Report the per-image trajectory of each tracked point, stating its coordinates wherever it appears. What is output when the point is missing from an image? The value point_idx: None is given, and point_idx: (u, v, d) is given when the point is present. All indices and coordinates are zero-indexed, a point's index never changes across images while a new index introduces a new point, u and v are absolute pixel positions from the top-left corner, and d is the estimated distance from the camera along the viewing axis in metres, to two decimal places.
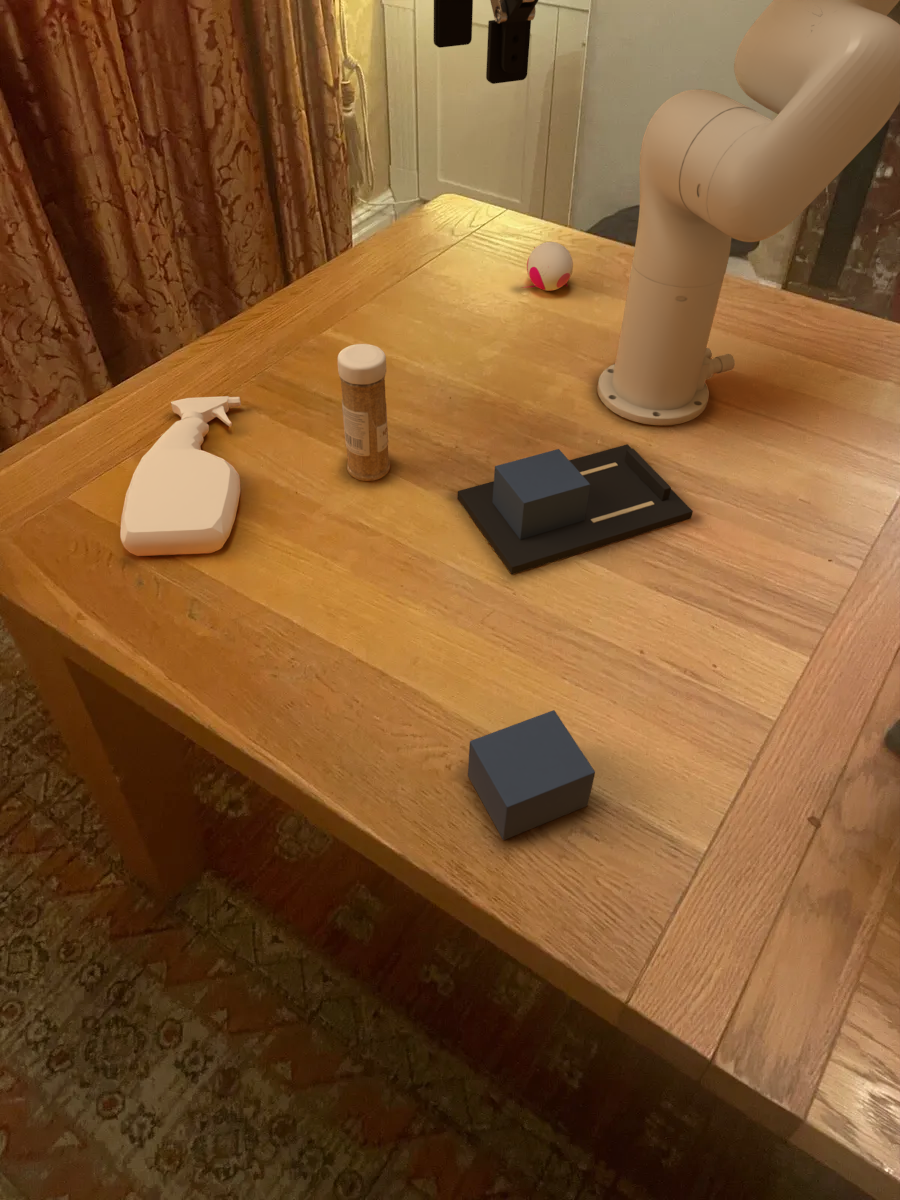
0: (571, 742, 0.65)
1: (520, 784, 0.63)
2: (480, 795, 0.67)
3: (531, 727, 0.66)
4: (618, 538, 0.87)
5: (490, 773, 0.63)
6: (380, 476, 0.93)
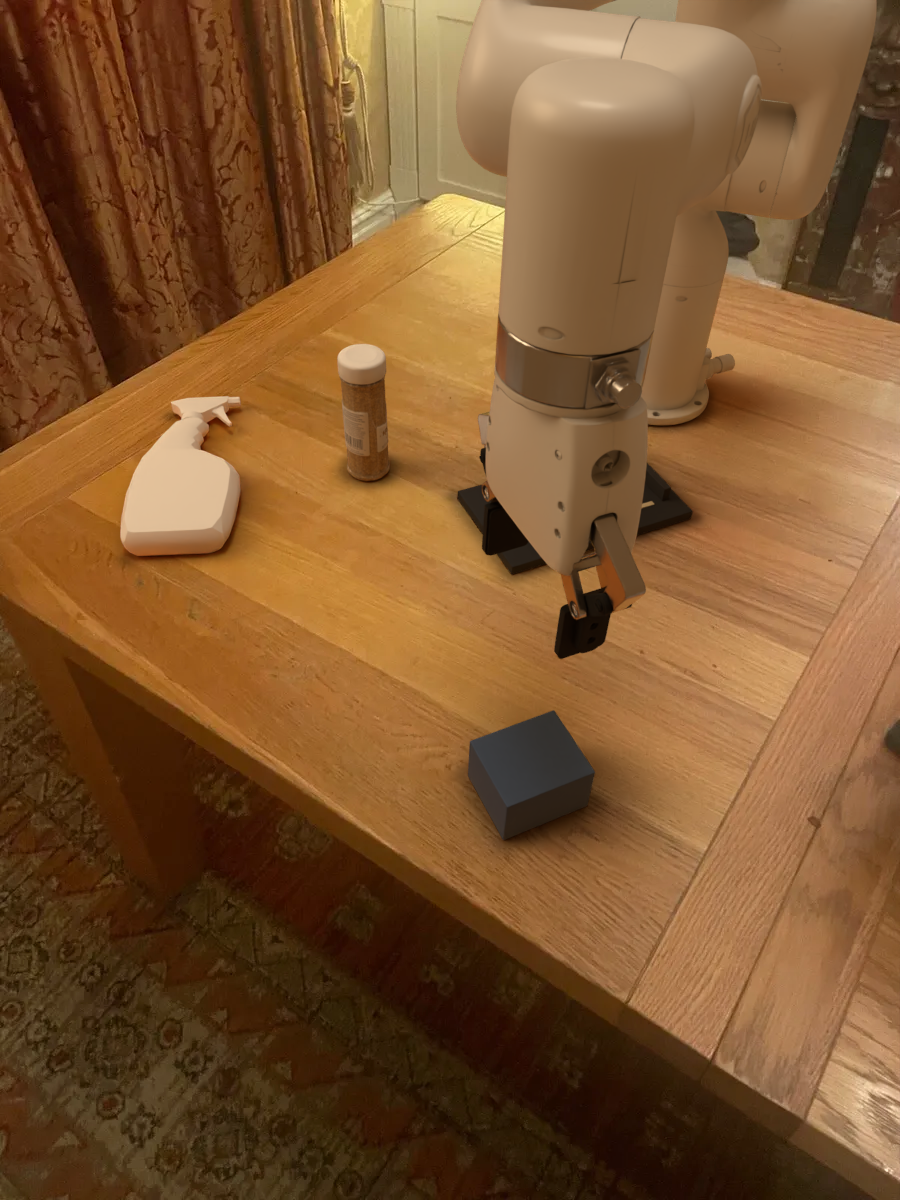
0: (571, 742, 0.65)
1: (520, 784, 0.63)
2: (480, 795, 0.67)
3: (531, 727, 0.66)
4: None
5: (490, 773, 0.63)
6: (380, 476, 0.93)
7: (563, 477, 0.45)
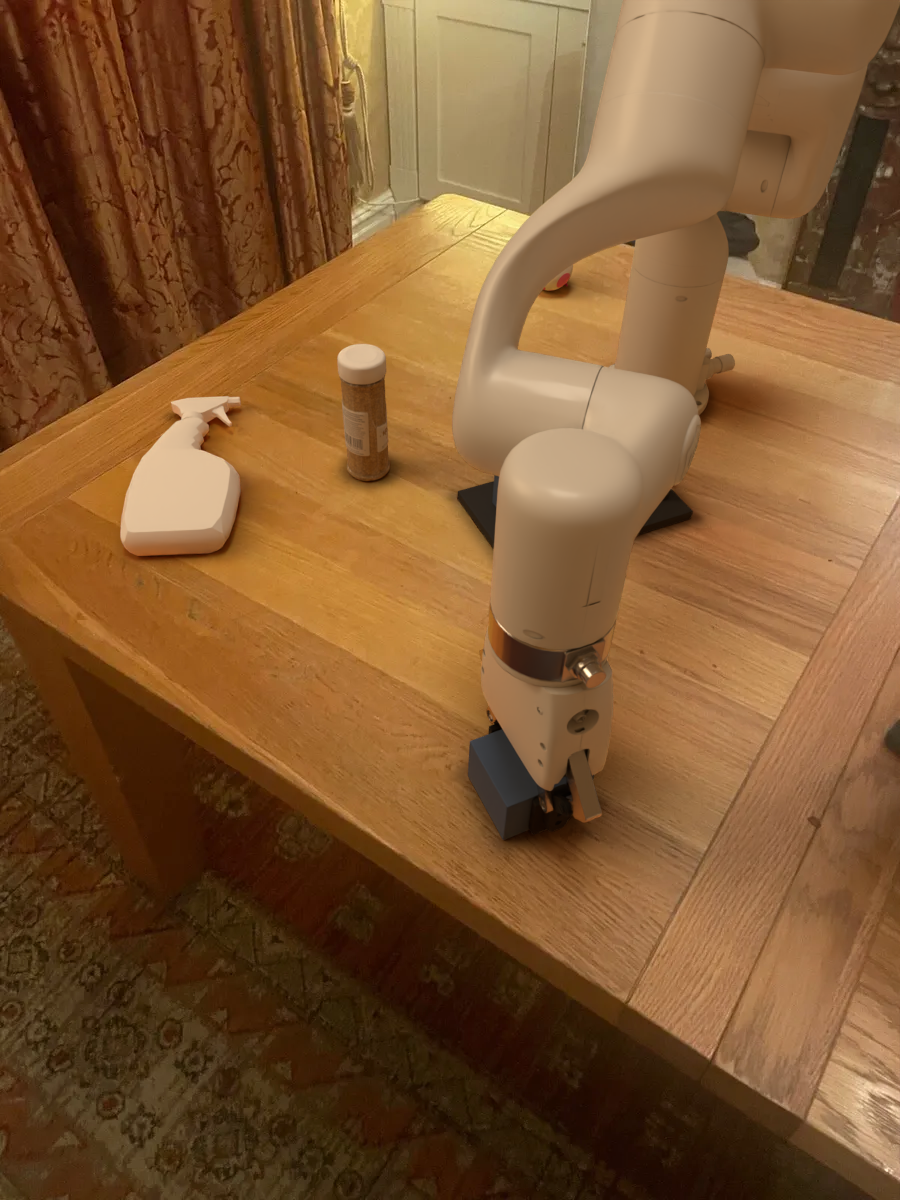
0: None
1: (520, 785, 0.63)
2: (480, 795, 0.67)
3: None
4: None
5: (490, 773, 0.63)
6: (380, 476, 0.93)
7: (544, 727, 0.54)
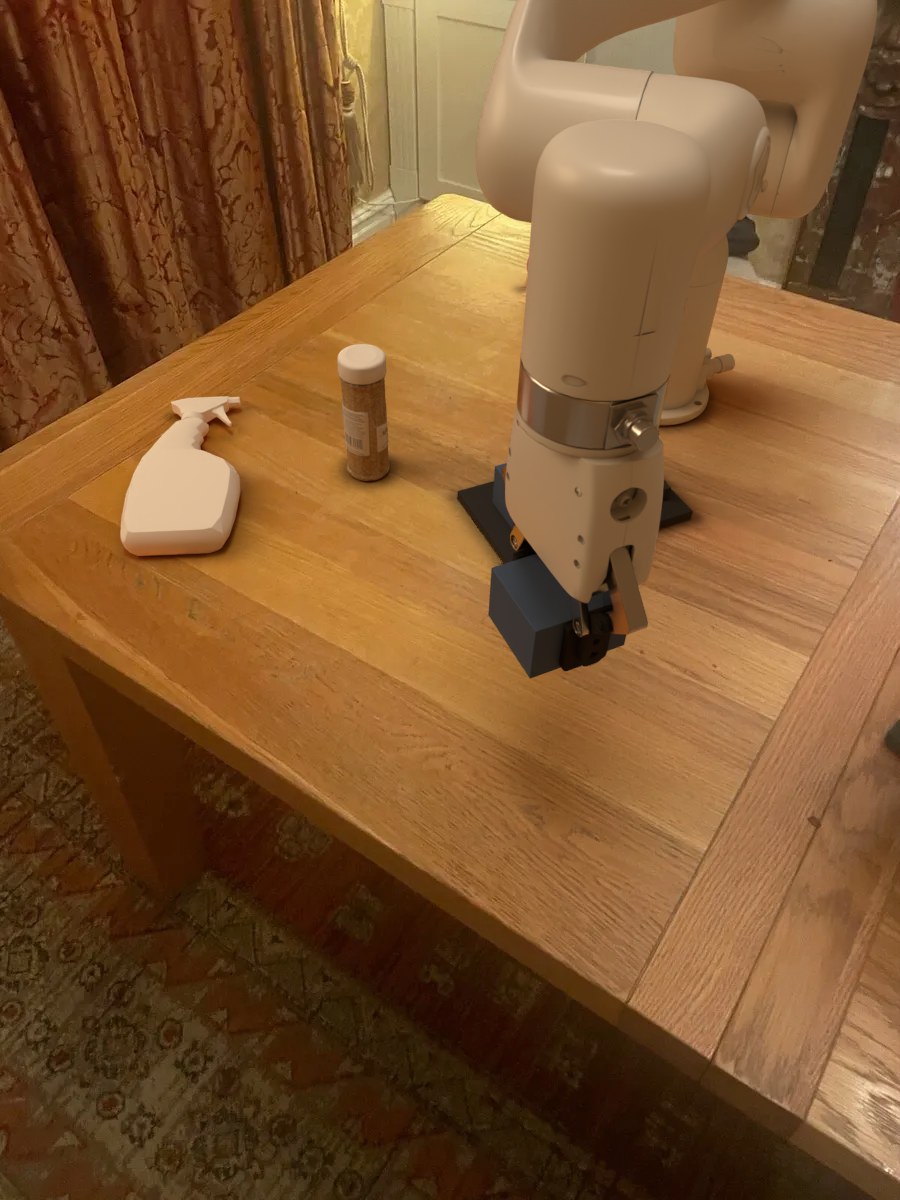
0: None
1: (550, 610, 0.55)
2: (503, 633, 0.59)
3: None
4: None
5: (515, 598, 0.56)
6: (380, 476, 0.93)
7: (583, 512, 0.47)
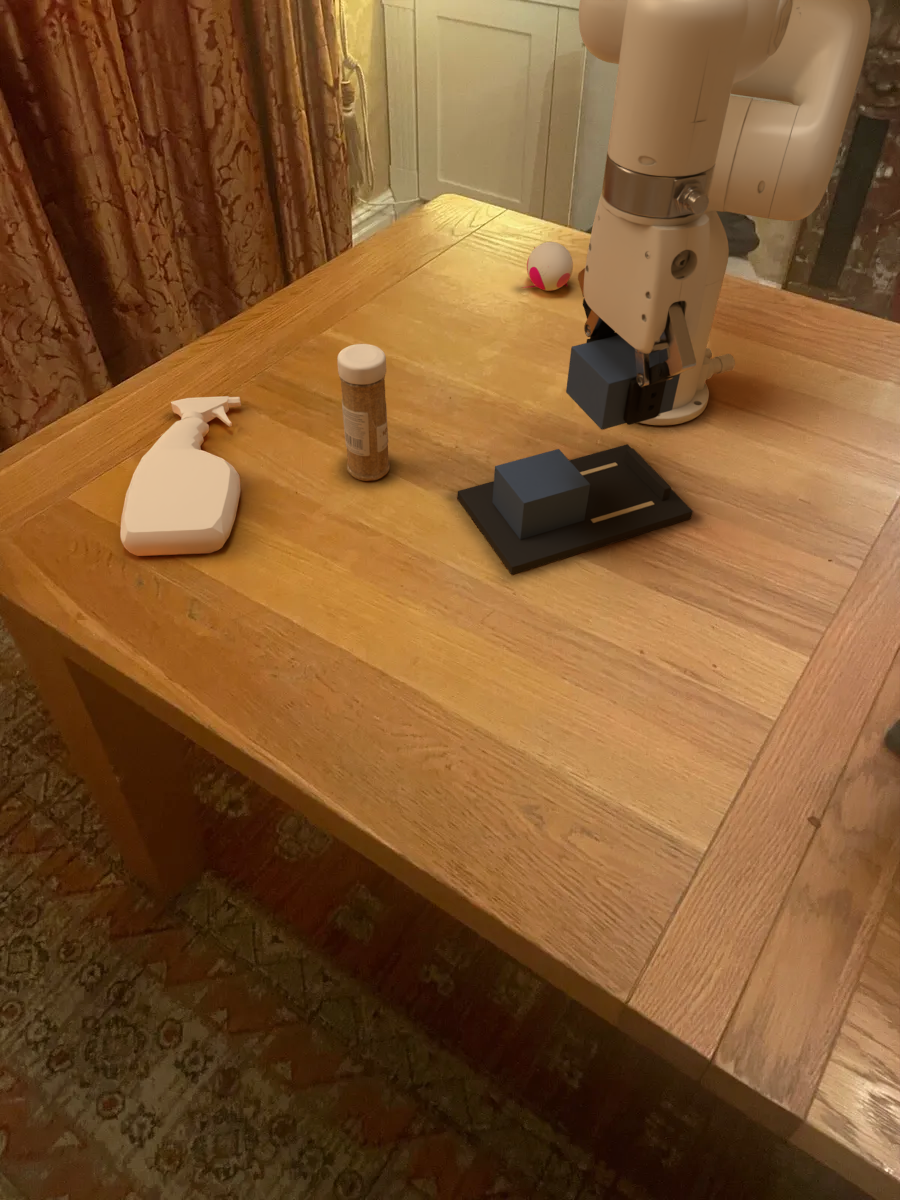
0: None
1: (619, 371, 0.73)
2: (579, 401, 0.77)
3: None
4: (618, 538, 0.87)
5: (592, 364, 0.73)
6: (380, 476, 0.93)
7: (651, 271, 0.64)
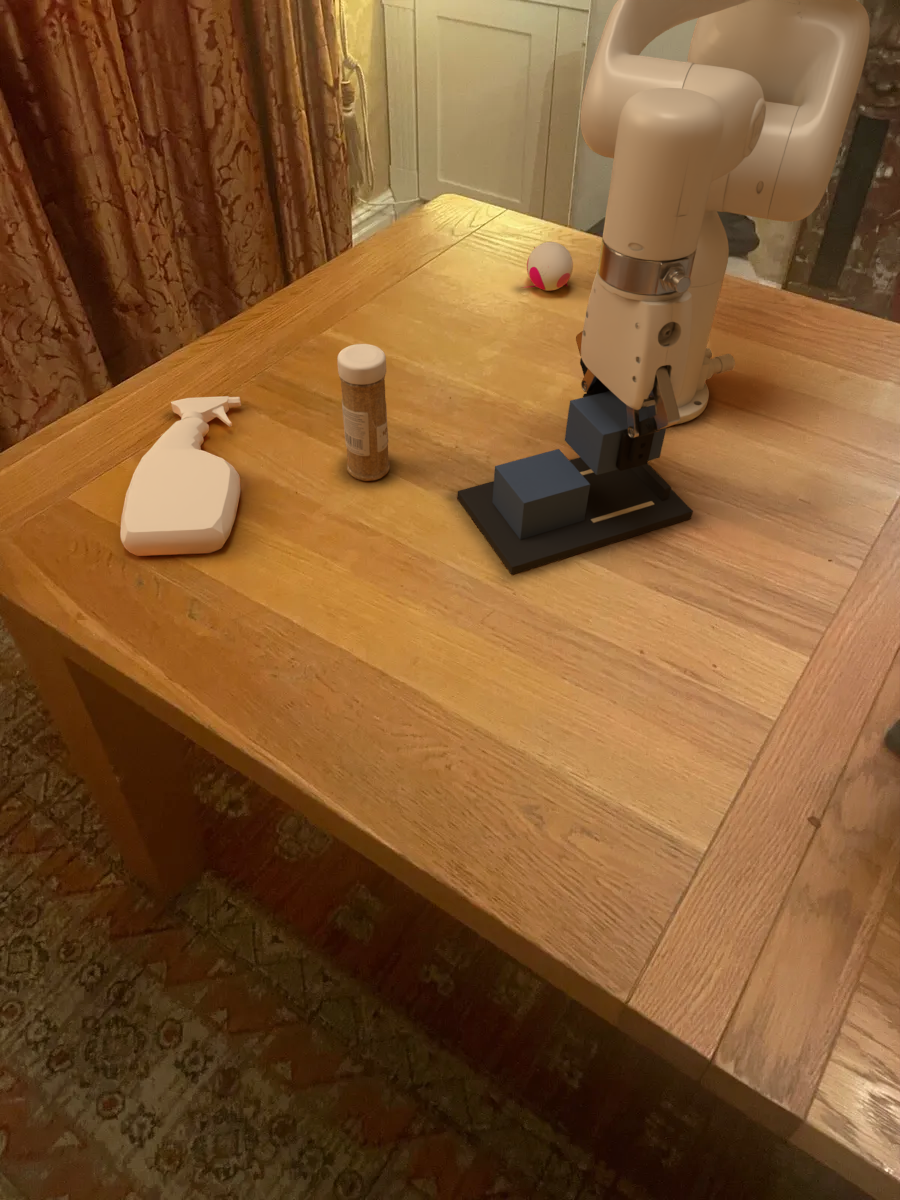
0: None
1: (612, 423, 0.82)
2: (576, 448, 0.86)
3: None
4: (618, 538, 0.87)
5: (588, 417, 0.82)
6: (380, 476, 0.93)
7: (640, 339, 0.74)
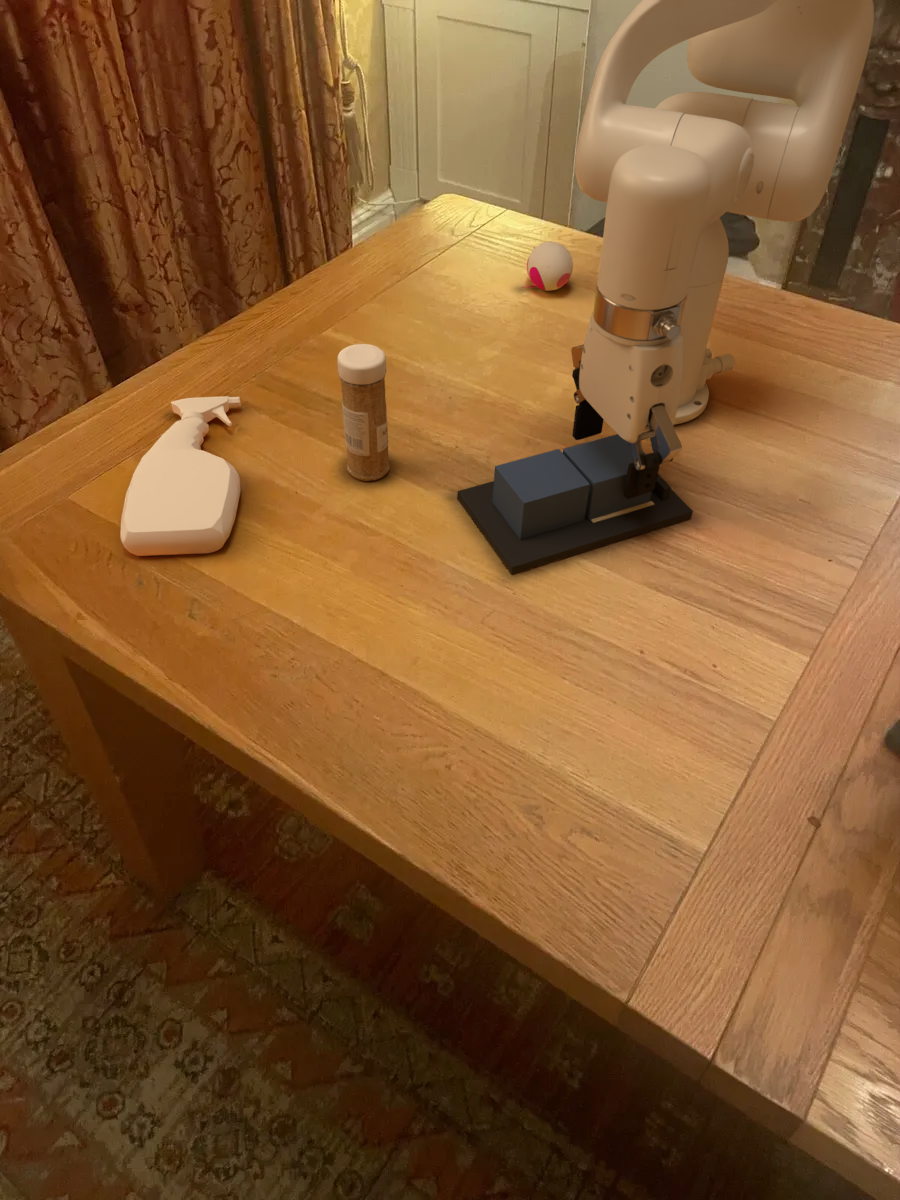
0: None
1: (603, 471, 0.86)
2: None
3: (607, 441, 0.89)
4: (618, 538, 0.87)
5: (580, 465, 0.86)
6: (380, 476, 0.93)
7: (634, 381, 0.77)
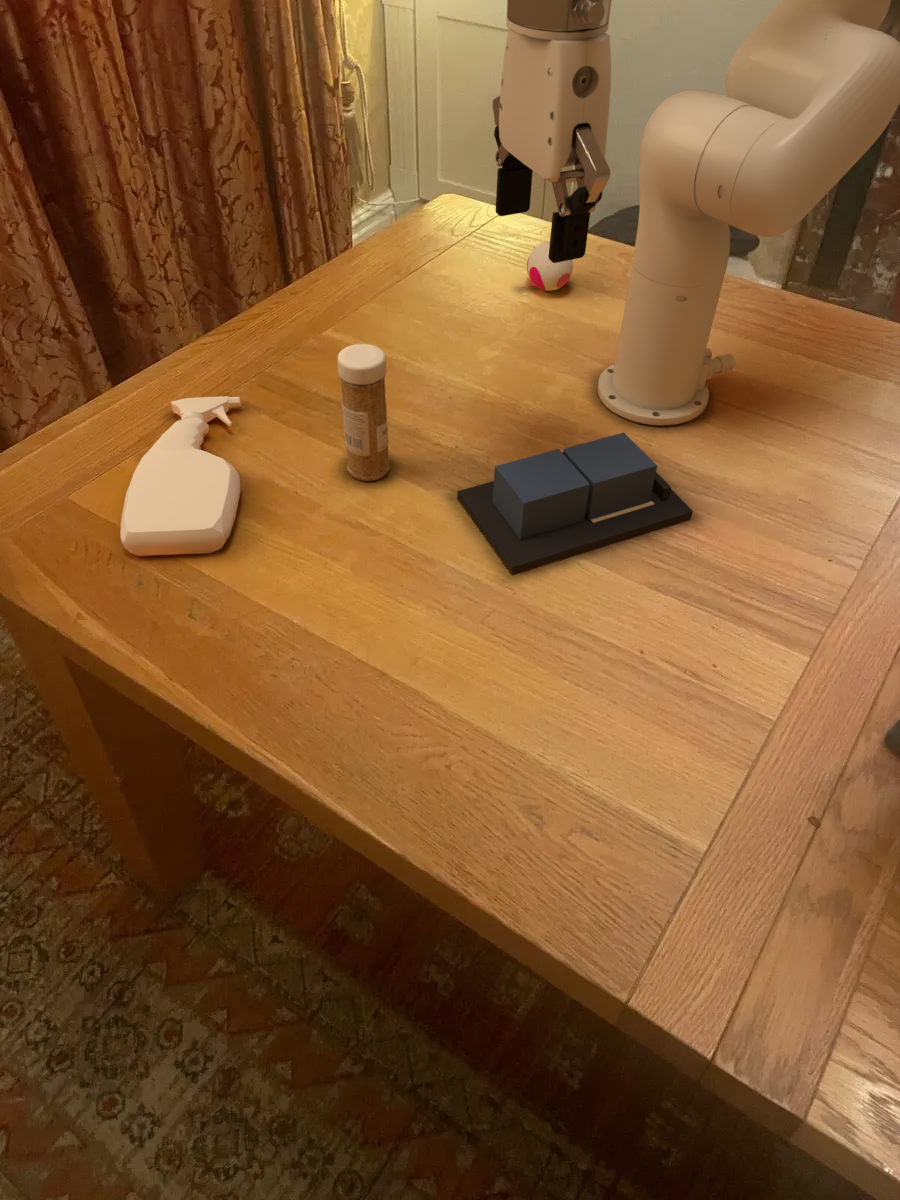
0: (638, 449, 0.88)
1: (603, 471, 0.86)
2: None
3: (607, 441, 0.89)
4: (618, 538, 0.87)
5: (580, 465, 0.86)
6: (380, 476, 0.93)
7: (553, 89, 0.66)
